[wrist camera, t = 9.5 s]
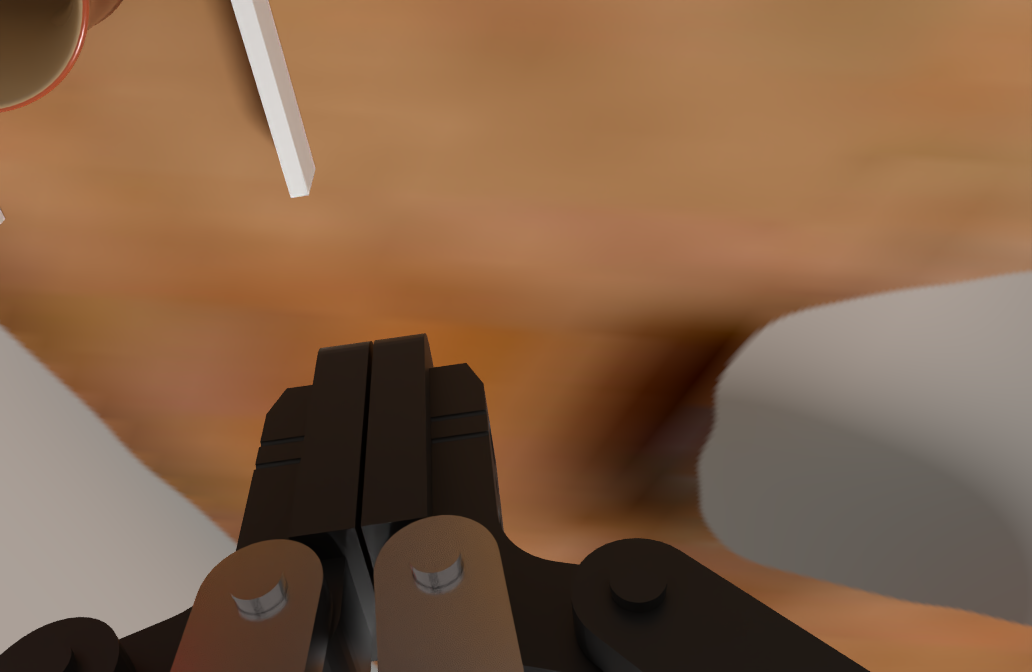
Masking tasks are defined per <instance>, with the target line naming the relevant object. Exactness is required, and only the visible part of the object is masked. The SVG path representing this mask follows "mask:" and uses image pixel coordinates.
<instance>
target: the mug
mask: <svg viewBox="0 0 1032 672" xmlns="http://www.w3.org/2000/svg"><path fill="white" fill-rule="evenodd" d="M122 1H123V0H0V112H5V111H10V110H14V109H17V108H20V107H23V106H26V105H28V104H30V103H32V102H34V101H36V100H38V99H40V98H41V97H43V96H45V95H46V94H48V93H49V92H50V91H51V90H53V89H54V88H55V87H56V86H57V85H58V84H59V83H60V82H61V81H62V80H63V79H64V78H65V77H66V76H67V74H68V73H69V72H70V70H71V69H72V67H73V66H74V64H75V62H76V60H77V59H78V57H79V55H80V52H81V50H82V47H83V45H84V41H85V38H86V34H87V30H89V29H90V28H91V27H93V26H94V25H96V24H98V23H99V22H101V21H103V20H104V19H106V18H107V17H108V16H109V15H111V14H112V13H113V12H114V11H115V10H116V9H117V7H118V6H119V5H120V4H121V2H122Z"/></svg>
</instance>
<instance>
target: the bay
mask: <svg viewBox="0 0 1032 672" xmlns="http://www.w3.org/2000/svg"><path fill="white" fill-rule="evenodd" d="M231 2H232V6H233V9H234V12H235V16H236V19H237V22H238V25H239V29H240V32H241V35H242V39H243V42H244V45H245V48H246V52H247V55H248V58H249V62H250V65H251V68H252V71H253V75H254V78H255V81H256V85H257V88H258V91H259V94H260V98H261V101H262V104H263V108H264V111H265V114H266V117H267V121H268V124H269V127H270V131H271V134H272V137H273V140H274V144H275V147H276V150H277V154H278V157H279V160H280V164H281V167H282V170H283V173H284V177H285V180H286V183H287V187H288V190H289V193H290V196H291V198H293V197H300V196H306V195H309V192H310V188H311V184H312V180H313V177H314V173H315V165H314V162H313V158H312V155H311V151H310V147H309V144H308V140H307V137H306V133H305V130H304V126H303V123H302V119H301V115H300V112H299V108H298V105H297V101H296V98H295V94H294V90H293V87H292V83H291V80H290V76H289V73H288V69H287V66H286V62H285V58H284V55H283V51H282V48H281V44H280V41H279V37H278V33H277V30H276V26H275V23H274V19H273V16H272V12H271V9H270V5H269V1H268V0H231ZM4 220H5V217H4V215H3V214H2V212H1V210H0V224H1V223H2V222H3V221H4Z"/></svg>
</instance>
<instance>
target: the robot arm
mask: <svg viewBox="0 0 1032 672" xmlns="http://www.w3.org/2000/svg"><path fill="white" fill-rule="evenodd" d="M260 442H261V447H259V450H258V455H257V459H256V464H255V465H256V470H254V473H253V477H252V481H251V486H250V490H249V495H248V499H247V504H246V508H245V513H244V517H243V522H242V526H241V531H240V535H239V539H238V544H237V548H236V552H234V553H232V554H231V555H229V556H228V557H226V558H225V559H223V560H222V561H221V562H220V563H219V564H218V565H217V566H215V567H214V568H213V569H212V571H211V572H210V573H209V574H208V575H207V577H206V578H205V580H204V581H203V583H202V585H201V586H200V589H199V591H198V593H197V596H196V599H195V601H194V605H193V606H192V607H191V608H189V609H187V610H186V611H184V612H182V613H180V614H178V615H176V616H174V617H172V618H169V619H167V620H165V621H162V622H160V623H157V624H155V625H153V626H150V627H148V628H145V629H143V630H141V631H139V632H136V633H133V634H131V635H128V636H126V637H124V638H121V639H118V637H117V636H116V634H115V633H114V631H113V630H112V628H111V627H110V626H108V625H107V624H106V623H104V622H102V621H100V620H97V619H93V618H87V617H76V618H68V619H64V620H59V621H56V622H53V623H50V624H47V625H45V626H43V627H41V628H38V629H36V630H35V631H32V632H31V633H29V634H28V635H26V636H24V637H23V638H21V639H20V640H19V641H17V642H16V643H15V644H13V645H12V646H10V647H9V648H8V649H7V650H6V651H4V652H3V653H2V654H1V655H0V672H370V671H371V661H378V672H870V671H868V670H867V669H865V668H864V667H862V666H860V665H859V664H857V663H856V662H854V661H853V660H851V659H849V658H848V657H846V656H845V655H843V654H842V653H840V652H838V651H837V650H835V649H834V648H832V647H831V646H829V645H828V644H826V643H824V642H823V641H821V640H820V639H818V638H817V637H815V636H813V635H812V634H810V633H809V632H807V631H806V630H804V629H802V628H801V627H799V626H798V625H796V624H795V623H793V622H791V621H790V620H788V619H787V618H785V617H784V616H782V615H780V614H779V613H777V612H776V611H774V610H773V609H771V608H769V607H768V606H766V605H765V604H763V603H762V602H760V601H758V600H757V599H755V598H754V597H752V596H751V595H749V594H747V593H746V592H744V591H743V590H741V589H740V588H738V587H736V586H735V585H733V584H732V583H730V582H729V581H727V580H725V579H724V578H722V577H721V576H719V575H718V574H716V573H714V572H713V571H711V570H710V569H708V568H707V567H705V566H703V565H702V564H700V563H699V562H697V561H696V560H694V559H693V558H691V557H689V556H688V555H686V554H685V553H683V552H682V551H680V550H678V549H676V548H674V547H672V546H671V545H668V544H665V543H663V542H660V541H655V540H651V539H641V538H633V539H623V540H618V541H614V542H611V543H608V544H605V545H603V546H601V547H600V548H598V549H596V550H595V551H593V552H592V553H590V554H589V555H588V556H587V557H586V558H585V559H584V560H583V561H582V562H581V564H580V565H578V564H570V563H563V562H555V561H550V560H545V559H542V558H539V557H536V556H533V555H531V554H529V553H527V552H525V551H523V550H521V549H520V548H519V547H517V546H516V545H515V544H514V543H513V542H512V541H510V540H509V539H508V537H507V536H506V534H505V533H504V530H503V521H502V513H501V503H500V495H499V486H498V477H497V468H496V460H495V454H494V448H493V441H492V435H491V429H490V422H489V416H488V410H487V403H486V397H485V391H484V384H483V382H482V381H481V380H480V379H479V378H478V376H477V375H476V374H475V373H474V372H473V371H472V369H471V368H470V367H469V366H468V365H467V363H463V364H456V365H449V366H441V367H433V362H432V357H431V352H430V347H429V342H428V338H427V335H426V333H424V334H417V335H410V336H403V337H396V338H389V339H382V340H375V341H374V344H373V342H372V341H369V342H362V343H355V344H347V345H340V346H333V347H326V348H320V349H319V351H318V356H317V362H316V368H315V374H314V380H313V385H308V386H301V387H294V388H287V389H286V390H285V391H284V393H283V394H282V395H281V397H280V398H279V399H278V400H277V402H276V403H275V404H274V406H273V407H272V408H271V409H270V411H269V412H268V413H267V414H266V419H265V423H264V428H263V432H262V437H261V441H260Z"/></svg>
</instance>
